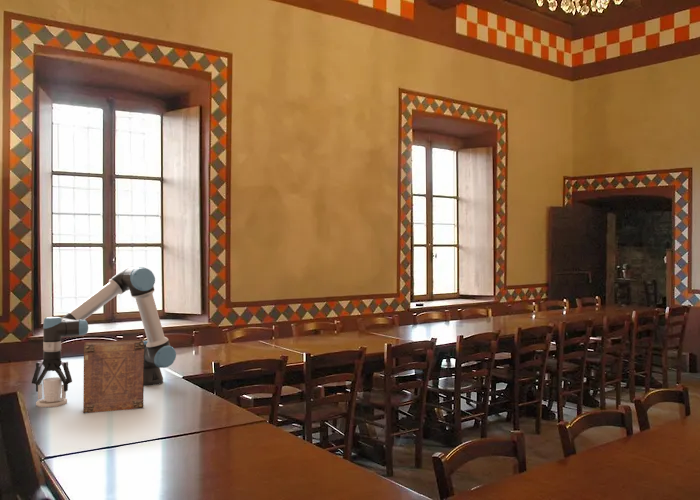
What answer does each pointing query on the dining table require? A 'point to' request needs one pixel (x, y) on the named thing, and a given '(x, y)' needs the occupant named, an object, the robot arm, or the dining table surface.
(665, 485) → the dining table surface
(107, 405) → the book
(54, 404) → the beige saucer
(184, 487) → the dining table surface
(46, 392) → the white cup
